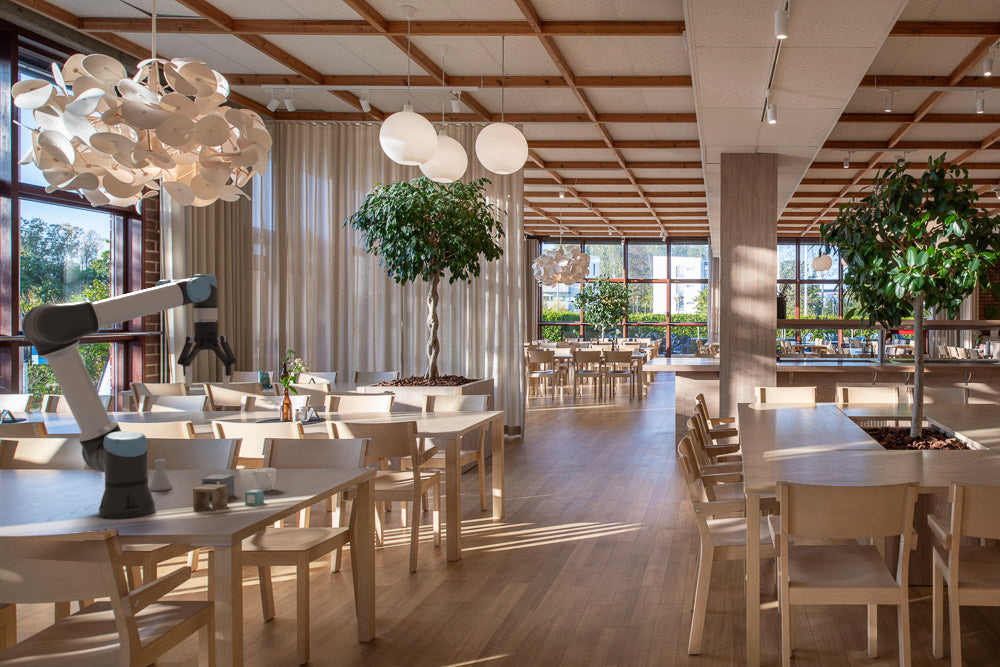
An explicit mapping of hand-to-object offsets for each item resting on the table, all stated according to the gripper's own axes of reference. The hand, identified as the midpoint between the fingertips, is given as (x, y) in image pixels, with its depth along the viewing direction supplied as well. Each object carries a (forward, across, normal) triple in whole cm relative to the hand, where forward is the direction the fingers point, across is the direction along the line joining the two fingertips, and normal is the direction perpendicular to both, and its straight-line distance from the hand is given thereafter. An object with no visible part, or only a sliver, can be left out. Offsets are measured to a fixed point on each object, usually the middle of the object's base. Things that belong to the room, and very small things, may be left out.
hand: (207, 386), depth 286 cm
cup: (+35, -18, -4) cm, 39 cm away
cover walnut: (+35, -15, +24) cm, 45 cm away
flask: (+35, +19, -1) cm, 40 cm away
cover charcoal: (+35, -8, +8) cm, 37 cm away
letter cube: (+35, -25, +16) cm, 46 cm away
